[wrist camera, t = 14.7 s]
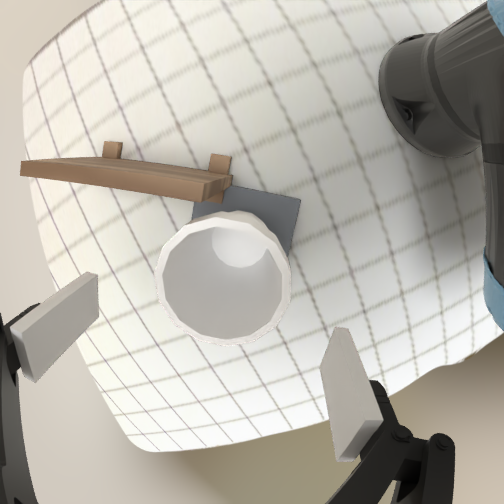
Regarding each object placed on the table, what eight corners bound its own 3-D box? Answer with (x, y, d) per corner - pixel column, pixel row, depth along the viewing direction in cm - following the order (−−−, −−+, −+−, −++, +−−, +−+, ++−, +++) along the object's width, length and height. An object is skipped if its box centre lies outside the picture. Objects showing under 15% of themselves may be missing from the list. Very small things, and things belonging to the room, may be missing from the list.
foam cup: (297, 258, 32) (313, 316, 20) (224, 293, 34) (200, 361, 22) (257, 180, 30) (248, 191, 18) (182, 220, 32) (131, 256, 20)
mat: (199, 179, 31) (197, 179, 31) (300, 199, 31) (300, 200, 31) (185, 273, 34) (184, 275, 34) (278, 293, 34) (278, 295, 34)
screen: (105, 141, 30) (23, 138, 17) (236, 157, 30) (209, 152, 17) (99, 182, 32) (19, 198, 18) (227, 203, 32) (196, 232, 18)
